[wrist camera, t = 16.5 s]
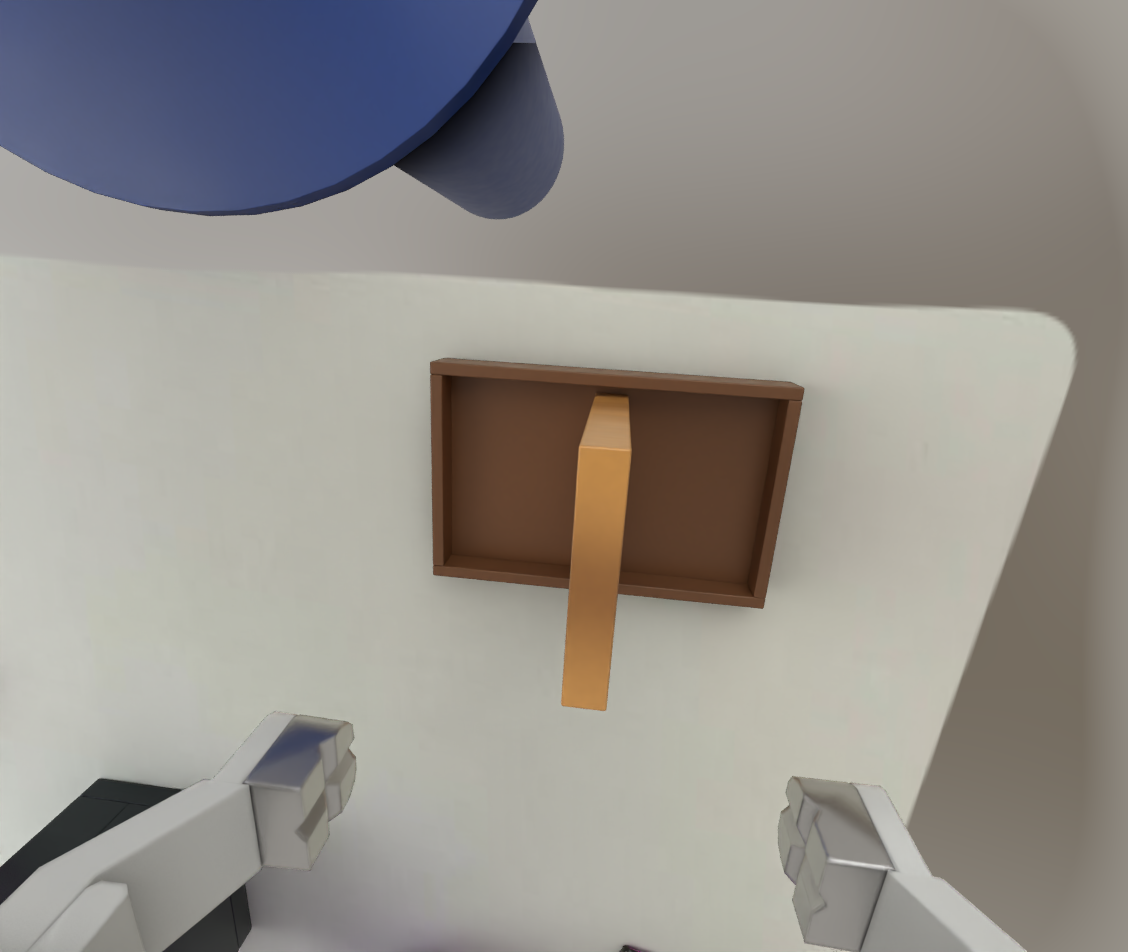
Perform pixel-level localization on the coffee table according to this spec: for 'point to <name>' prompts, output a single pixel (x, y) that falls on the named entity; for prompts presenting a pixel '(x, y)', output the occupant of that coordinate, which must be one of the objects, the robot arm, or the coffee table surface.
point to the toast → (596, 551)
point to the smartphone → (628, 949)
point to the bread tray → (656, 481)
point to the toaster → (98, 810)
